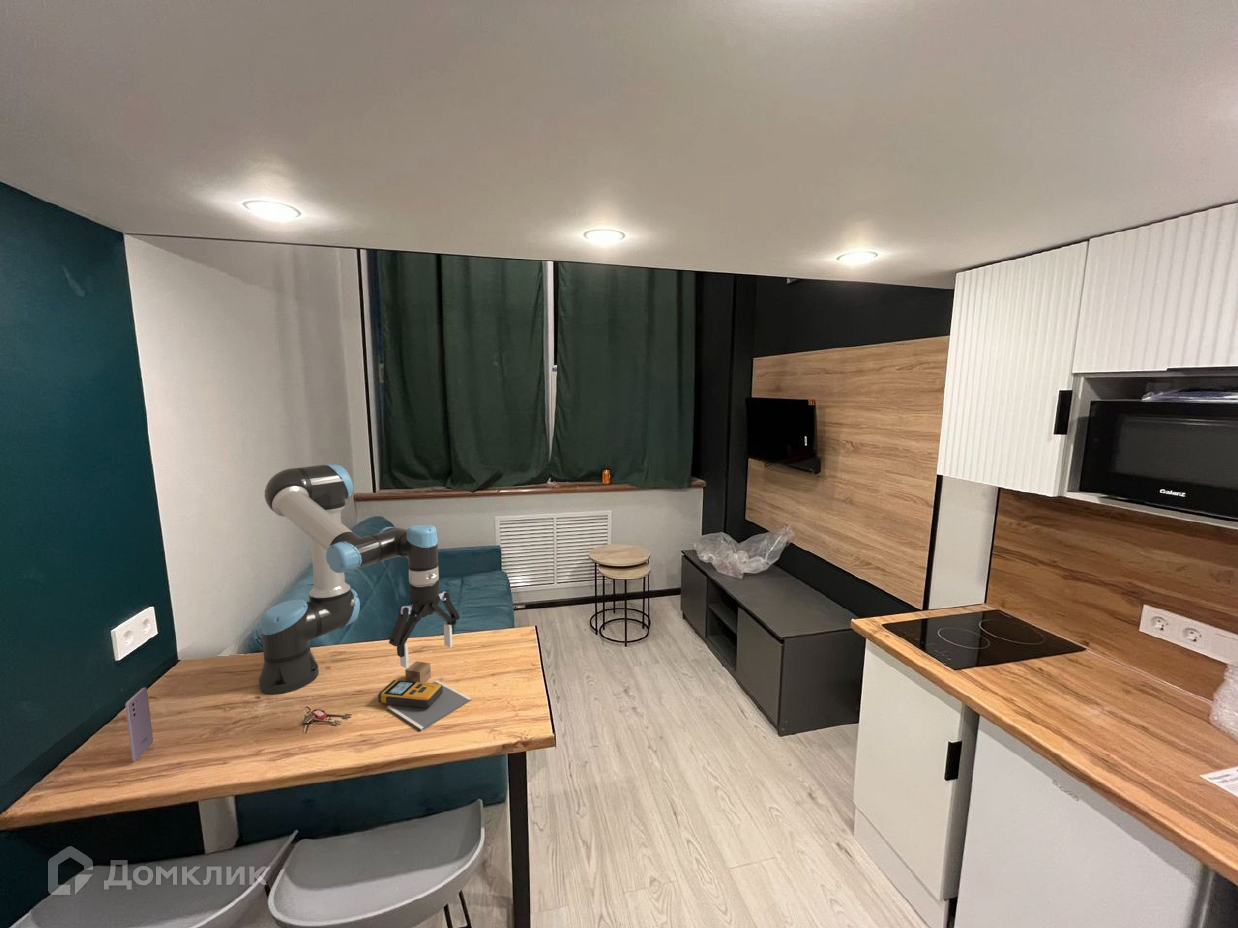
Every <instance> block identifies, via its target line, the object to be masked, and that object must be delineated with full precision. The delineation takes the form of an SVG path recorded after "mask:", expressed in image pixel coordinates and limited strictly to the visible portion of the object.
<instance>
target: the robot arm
mask: <svg viewBox="0 0 1238 928" xmlns="http://www.w3.org/2000/svg"><path fill="white" fill-rule="evenodd" d="M353 484H354V483H353V480H352V478H351V476H350V474H349V472H348V471H347V470H346V469H345V468H344V467H343V466H342V465H340V464H318V465H311V466H303V467H291V468H286V469H283V470H281V471H279V472H277V473H275V474H274V475H273V476H272V477H271V478H270V479H269V480H268V482H267V483H266V486H265V489H264V499H265V502H266V505H267V507H268V508H269V509H270V510H271V511H272V512H273V513H275V514H276V515H277V516H279V517H282V518H283V517H284V518H285V517H286V518H287V519H288V520H289V521H291V523H293V525H295V526H296V527H297V528H299V529H300V530H301V531H302V532H304V533H305V534H306V535H307V536H309V538H310V545H311V547H310V548H311V560H312V575H313V576H312V577H313V588H312V589H311V590H310V591H309V593H308V595H309V596H308V599H309V600H308V601H306V600H304V599H299V598H298V599H292V600H286V601H283V602H280V603H277V604H276V605H273V606H272V607H270V608H268V609H267V610H265V612H264V613H263V615H262V616H261V619H260V621H261V622H260V633H261V639H262V640H261V641H262V651H263V652H262V653H263V659H264V660H263V661H264V662H263V665H262V669H261V672H260V675H259V679H258V688H259V691H260V692H262V693H263V694H266V695H267V694H268V695H278V694H279V695H280V694H285V693H290V692H293V691H296V690H299V689H301V688H304V687H306V686H308V685H309V684H311V683H312V682H313V681H315V680H316V679H317V678H318V676H319V672H320V669H319V664H318V663H317V662H318V661H316V659H315V657H314V655H313V653H312V650H311V642H310V641H312V640H314V639H316V638H319V637H322V636H324V635H327V634H329V633H332V632H334V631H337V630H341V629H343V628H345V627H346V626H349V625H350V624H351V625H352V624H353V623H354V622H355V621H356V619H357V618H358V616H359V613H360V608H361V603H360V602H361V601H360V598H359V597H358V596H359V595H358V593H357V592H356V590H354V589H353V588H351V585H350V584H349V583H347V582H346V580H345V579H346V578H345V577H346V576H345V573H347V572H352V571H355V570H359V569H361V568H364V567H367V566H371V565H375V564H376V563H380V562H384V561H386V560H391V559H393V558H404V559H407V561H408V582H409V587H408V588H409V598H410V604H409V605H405V606H404V605H400V606H399V609H398V616H397V619H396V621H395V624H394V627H393V630H392V631H391V635H390V637H389V640H388V644H390V645H391V646H394V647H396V654H397V657H399V659H400V660H399V661H400V666H401V667H403V668H405V669H407V668H409V666H410V663H409V662H410V661H409V660H410V659H409V657H410V656H409V644H408V643H407V641H408V639H409V638H410V636H411V634H412V632H413V630H414V628H415V627H416V625H417V624H418V622H420V621H421V619H422V618H425V617H427V616H428V615H429V616H430V615H433V614H434V613H435V614H437V616H439V617H440V618H441V619H442V620H444V623H443V639H444V640H443V644H444V646H445V647H449V648H453V634H454V633H455V625H456V624H457V620H460V614H459V613H458V611H457V609H456V607H455V606H454V604H453V602H452V601H451V598H450V593H449V592H447V591H444V590H441V591H440V581H439V578H440V575H439V574H440V573H439V549H438V547H439V545H438V542H439V539H438V535H437V534H438V533H437V531H438V530H437V528H436V527H435V526H434V525H433V524H415V525H411V526H409V527H408V528H407V529H405V528H401V527H398V526H385V527H384V528H382V529H381V530H380V531H378V533H375V534H369V535H366V536H359V535H358V534H356V533H355V532H353V531H352V529H350V528H348V527H347V526H346V525H344V524H343V523H342V514H341V513H342V510H343V509H344V508H345V507H346V500H348V499H349V498H351V496H352V495H353V491H354V485H353ZM440 601H441V602H442V604H443V605H444V608H445V609H446V611H447V612H448V613H446V612H445V610H443V609H442V607H441V606H439V603H440Z"/></svg>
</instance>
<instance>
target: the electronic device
mask: <svg viewBox="0 0 1238 928" xmlns="http://www.w3.org/2000/svg"><path fill="white" fill-rule="evenodd" d="M442 693H443V687H442V685H441V684H433V682H425V683H423V682H413V681H406V680H401V679H393V680H392V681H391V682H390V683H389V684H387V686H385V687H384V688H383V689H382V690H380V692H379V693H378V694H377V699H378V703H380V704H387V705H392V704H393V705H403V706H412V707H421V708H428V707H430V706H431V705H432V704H433V703H434V702H435V701H436V700H437V699H438V698H439V696H440V695H441V694H442Z"/></svg>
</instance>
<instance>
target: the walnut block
mask: <svg viewBox="0 0 1238 928" xmlns="http://www.w3.org/2000/svg"><path fill="white" fill-rule="evenodd" d="M404 671H405V681H413V682H423V683H428V681H429V680H430V679H431V678H432V672H431V663H429V662H423V661H417V660H415V661H414V662H413V663H412V664H411V665H409V668H407V669H406V668H405V669H404Z"/></svg>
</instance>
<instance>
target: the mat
mask: <svg viewBox="0 0 1238 928" xmlns="http://www.w3.org/2000/svg"><path fill="white" fill-rule="evenodd" d="M432 683H433V684H441V685H442V687H443V693H442V694H441V695H440V696H439V698H438V699H437V700H436V701H435V702H434V703H433V704H432V705H431V706H430V707H428V708H421V707H412V706H403V705H393V704H388V705H387V706H386V710H387V711H389V712H391V714H393V715H395V716H397V717H398V718H399V719H401V720H403V721H404V722H406V723H407V724H409V725H411V726H412V727H413V728H415V729H417V730H418V731H419V732H423V731H425V730H426V729H428V728H429V727H431V726H432V725H434V724H436V723H437V722H439V721H440V720H442V719H444V718H446V717H447V716H449V715H451V714H452V713H453V712H455V711H457V710H458V709H460V708H462V707H463V706H465V705H466V704H468V703H470V702H471V701H472V698H471V697H470V696H468V695H466V694H464V693H461V692H460V691H458V690H456V689H454V688H453V687H451V686H449V685H448V684H445V683H443V682H441V681H440V680H435V681H433V682H432Z"/></svg>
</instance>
